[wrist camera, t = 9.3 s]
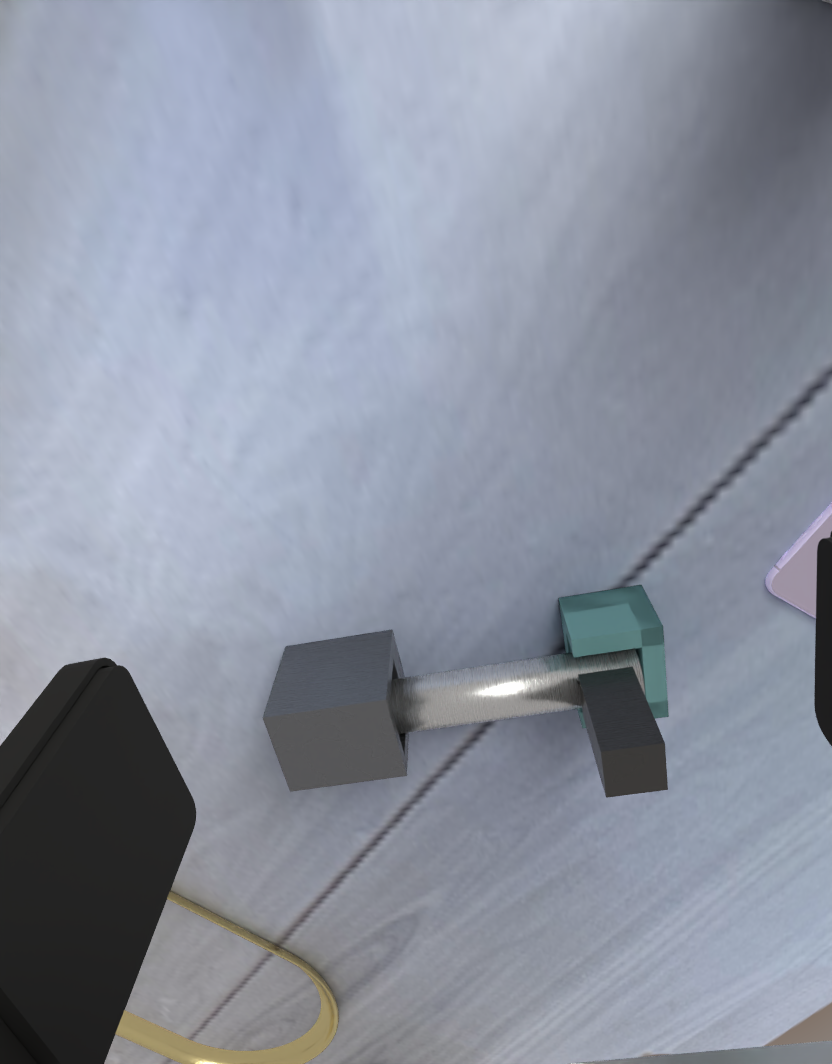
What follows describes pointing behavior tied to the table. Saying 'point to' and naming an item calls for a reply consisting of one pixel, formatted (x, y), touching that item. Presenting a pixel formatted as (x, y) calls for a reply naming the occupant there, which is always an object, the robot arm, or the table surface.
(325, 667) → the sleeve
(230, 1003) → the table surface
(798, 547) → the mobile phone
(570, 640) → the socket
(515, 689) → the grey l-shaped bar
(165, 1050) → the tan oval loop
